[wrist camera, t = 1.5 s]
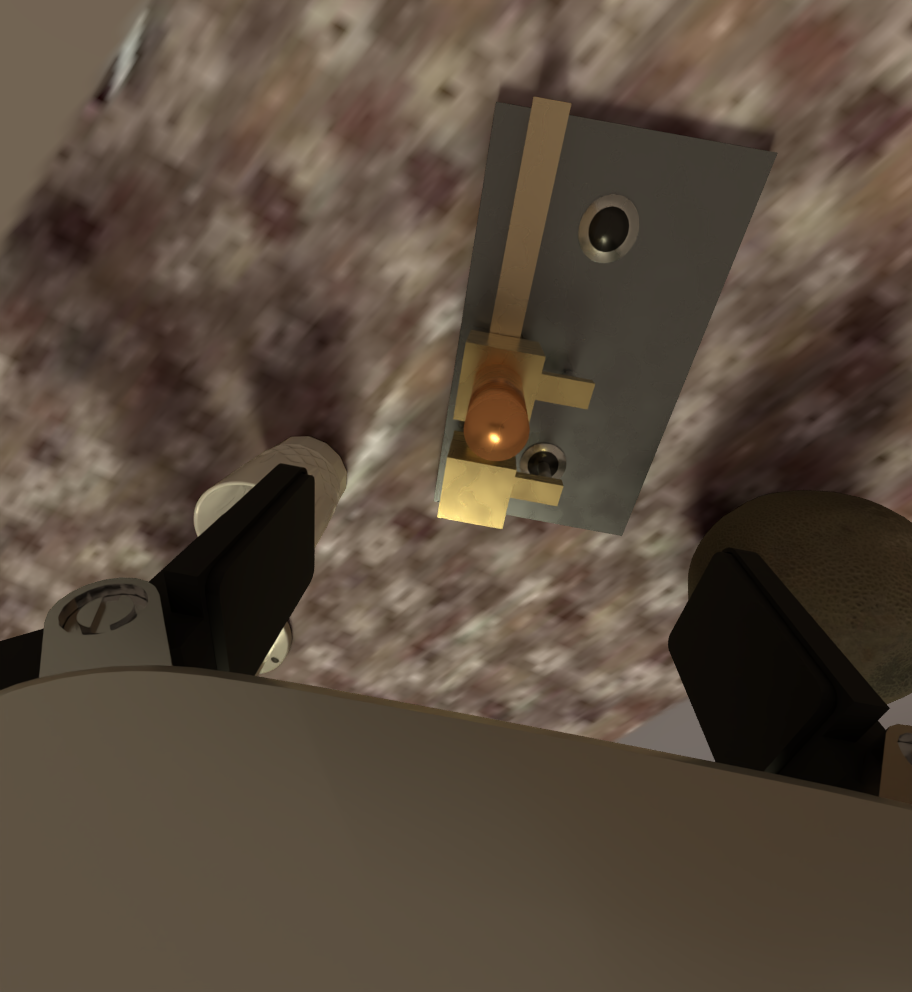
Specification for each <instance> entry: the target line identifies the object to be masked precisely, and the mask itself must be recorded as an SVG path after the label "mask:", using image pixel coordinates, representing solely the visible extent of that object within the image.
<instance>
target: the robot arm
mask: <svg viewBox="0 0 912 992" xmlns="http://www.w3.org/2000/svg"><path fill="white" fill-rule="evenodd" d="M314 553H315V479H314V476H313V475H308V472H307V469H306V468H304V467H299V466H294V465H288V464H283V463H280V464H278V465H277V466H276V467H275V468H274V469H272V470H271V471H270V472H269V473H268V474H267V475H266V476H265V477H264V478H263V479H262V480H260V481H259V482H258V483H257V484H256V485H255V486H254V487H253V488H252V489H251V490H250V491H248V492H247V493H246V494H245V495H244V496H243V497H242V498H241V499H240V500H239V501H238V502H236V503H235V504H234V505H233V506H232V507H231V508H230V509H229V510H228V511H227V512H226V513H224V514H223V515H221V516H220V517H219V518H218V519H217V520H216V521H215V522H214V523H213V524H212V525H211V526H209V527H208V528H207V529H206V530H205V531H204V532H203V533H202V534H201V535H200V536H199V537H197V538H196V539H195V540H194V541H193V542H192V543H191V544H190V545H189V546H188V547H186V548H185V549H184V550H183V551H182V552H181V553H180V554H179V555H178V556H177V557H176V558H174V559H173V560H172V561H171V562H170V563H169V564H168V565H167V566H166V567H165V568H164V569H162V570H161V571H160V572H159V573H158V574H157V575H156V576H155V577H154V578H153V579H151V580H150V581H149V582H148V581H145V580H141V579H137V578H113V579H106V580H102V581H98V582H95V583H91V584H88V585H85V586H83V587H81V588H79V589H77V590H75V591H72V592H71V593H69V594H68V595H66V596H65V597H63V598H62V599H60V600H59V601H58V602H57V603H56V604H55V605H54V606H53V607H52V608H51V609H50V611H49V612H48V614H47V617H46V619H45V622H44V629H41V630H37V631H34V632H30V633H27V634H23V635H20V636H17V637H13V638H10V639H6V640H3V641H0V992H912V726H910V725H901V724H896V725H893V726H890V727H888V729H886V730H885V729H884V728H883V726H882V725H881V724H880V723H879V722H878V720H879V719H880V718H881V717H882V716H883V714H884V713H886V712H887V711H888V710H889V707H888V706H887V704H886V703H885V702H884V701H883V700H882V698H881V697H880V696H879V695H878V694H877V693H876V691H875V690H874V689H873V688H872V687H871V686H870V684H869V683H868V682H867V681H866V680H865V679H864V677H863V676H862V675H861V674H860V673H859V671H858V670H857V669H856V668H855V667H854V666H853V664H852V663H851V662H850V661H849V660H848V659H847V657H846V656H845V655H844V654H843V653H842V652H841V650H840V649H839V648H838V647H837V646H836V644H835V643H834V642H833V641H832V640H831V639H830V637H829V636H828V635H827V634H826V633H825V632H824V630H823V629H822V628H821V627H820V626H819V625H818V623H817V622H816V621H815V620H814V619H813V617H812V616H811V615H810V614H809V613H808V612H807V610H806V609H805V608H804V607H803V606H802V605H801V603H800V602H799V601H798V600H797V599H796V598H795V596H794V595H793V594H792V593H791V592H790V591H789V589H788V588H787V587H786V586H785V585H784V583H783V582H782V581H781V580H780V579H779V578H778V576H777V575H776V574H775V573H774V572H773V571H772V569H771V568H770V567H769V566H768V565H767V564H766V562H765V561H764V560H763V559H762V558H761V556H760V555H759V554H757V553H756V552H752V551H747V550H741V549H736V548H731V547H728V548H725V549H724V550H722V552H717V553H715V554H714V555H713V557H712V558H711V560H710V562H709V564H708V566H707V568H706V569H705V571H704V573H703V575H702V577H701V579H700V580H699V582H698V584H697V586H696V588H695V589H694V591H693V593H692V595H691V597H690V599H689V600H688V602H687V604H686V606H685V608H684V610H683V611H682V613H681V615H680V617H679V619H678V621H677V622H676V624H675V626H674V628H673V630H672V632H671V633H670V636H669V640H668V648H669V651H670V654H671V656H672V659H673V661H674V663H675V666H676V668H677V671H678V673H679V675H680V678H681V680H682V683H683V685H684V687H685V690H686V692H687V695H688V697H689V699H690V702H691V704H692V706H693V709H694V711H695V713H696V716H697V719H698V721H699V723H700V726H701V728H702V731H703V733H704V735H705V738H706V740H707V742H708V745H709V747H710V750H711V752H712V755H713V757H714V759H715V762H711V761H706V760H702V759H696V758H691V757H686V756H681V755H676V754H671V753H666V752H661V751H656V750H651V749H646V748H641V747H636V746H630V745H625V744H620V743H615V742H610V741H605V740H599V739H594V738H589V737H584V736H579V735H574V734H568V733H563V732H558V731H553V730H548V729H542V728H537V727H532V726H527V725H521V724H516V723H511V722H506V721H500V720H495V719H490V718H485V717H479V716H474V715H469V714H464V713H458V712H453V711H447V710H442V709H437V708H431V707H426V706H421V705H415V704H410V703H404V702H399V701H394V700H388V699H383V698H378V697H372V696H367V695H361V694H356V693H351V692H345V691H340V690H335V689H329V688H323V687H317V686H311V685H305V684H300V683H294V682H288V681H282V680H276V679H270V678H264V677H258V675H259V674H262V673H266V672H269V671H271V670H273V669H275V668H276V667H278V666H279V665H280V664H281V663H282V662H283V661H284V659H285V658H286V656H287V654H288V652H289V650H290V647H291V644H292V633H291V630H290V626H289V624H288V622H287V621H288V619H289V617H290V616H291V614H292V612H293V611H294V609H295V607H296V606H297V604H298V602H299V601H300V599H301V597H302V596H303V594H304V592H305V591H306V589H307V587H308V586H309V584H310V582H311V580H312V577H313V573H314Z"/></svg>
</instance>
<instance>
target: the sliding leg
mask: <svg viewBox="0 0 912 992" xmlns="http://www.w3.org/2000/svg"><path fill="white" fill-rule="evenodd" d="M545 358H546V356H545V354H544V352H543V350H542V348H541V346H540V344H539V342H536V341H531V340H525V339H520V338H514V337H509V336H503V335H498V334H492V333H487V332H481V331H476V330H471V331H470V333H469V336H468V338H467V340H466V344H465V350H464V356H463V362H462V368H461V374H460V380H459V386H458V393H457V399H456V405H455V411H454V417H453V419H455V420H460V421H465V424H464V437H465V440H466V443H467V445H468V446H469V448H470V449H471V450H472V451H473V452H474V453H475V454H476V455H477V456H479V457H481V458H483V459H486V460H489V461H503V460H507V459H510V458H512V457H514V456H515V455H517V454H518V453H519V452H520V451H521V450H522V449H523V448H524V446H525V445H526V443H527V441H528V438H529V433H530V426H529V422H530V418H531V414H532V410H533V406H534V402H535V400H539V401H544V402H549V403H555V404H560V405H566V406H571V407H577V408H582V409H588V406H589V403H590V399H591V396H592V393H593V390H594V387H595V383H594V382H593V380H589V379H584V378H578V377H576V376H575V374H574V373H573V372H572V371H567V372H565V373H564V374H563V375H562V374H557V373H551V372H546V371H542V370H543V366H544V362H545Z"/></svg>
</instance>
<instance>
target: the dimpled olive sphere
mask: <svg viewBox="0 0 912 992" xmlns="http://www.w3.org/2000/svg"><path fill="white" fill-rule="evenodd" d="M728 547H731V548H736V549H741V550H747V551H752V552H756V553H757V554H759V555H760V556H761V558H762V559H763V560H764V561H765V562H766V564H767V565H768V566H769V567H770V568H771V569H772V571H773V572H774V573H775V574H776V575H777V576H778V578H779V579H780V580H781V581H782V582H783V583H784V585H785V586H786V587H787V588H788V589H789V591H790V592H791V593H792V594H793V595H794V596H795V598H796V599H797V600H798V601H799V602H800V603H801V605H802V606H803V607H804V608H805V609H806V610H807V612H808V613H809V614H810V615H811V616H812V617H813V619H814V620H815V621H816V622H817V623H818V625H819V626H820V627H821V628H822V629H823V630H824V632H825V633H826V634H827V635H828V636H829V637H830V639H831V640H832V641H833V642H834V643H835V644H836V646H837V647H838V648H839V649H840V650H841V652H842V653H843V654H844V655H845V656H846V657H847V659H848V660H849V661H850V662H851V663H852V664H853V666H854V667H855V668H856V669H857V670H858V671H859V673H860V674H861V675H862V676H863V677H864V679H865V680H866V681H867V682H868V683H869V684H870V686H871V687H872V688H873V689H874V690H875V691H876V693H877V694H878V695H879V696H880V697H881V698H882V700H883V701H884V702H885V703H886V704H889V703H891V702H894V701H896V700H898V699H901V698H903V697H905V696H907V695H909V694H910V693H912V523H911V522H910V521H909V520H907V519H906V518H905V517H903V516H901V515H899V514H897V513H896V512H894V511H892V510H890V509H888V508H886V507H884V506H882V505H880V504H877V503H875V502H872V501H870V500H866V499H863V498H860V497H855V496H851V495H846V494H841V493H836V492H828V491H811V490H796V491H786V492H777V493H772V494H767V495H764V496H760V497H758V498H755V499H753V500H751V501H749V502H746V503H745V504H743V505H741V506H740V507H738V508H737V509H735V510H734V511H732V512H730V513H728V514H727V515H725V516H724V517H722V518H721V519H720V520H719V521H718V522H717V523H716V524H714V525H713V527H712V528H711V529H710V530H709V531H708V532H707V534H706V535H705V536H704V538H703V539H702V540H701V542H700V544H699V545H698V547H697V549H696V551H695V553H694V555H693V558H692V560H691V564H690V568H689V573H688V600H689V599H690V597H691V595H692V593H693V591H694V589H695V588H696V586H697V584H698V582H699V580H700V579H701V577H702V575H703V573H704V571H705V569H706V568H707V566H708V564H709V562H710V560H711V558H712V557H713V555H714V554H715V553H717V552H722V550H724V549H725V548H728Z"/></svg>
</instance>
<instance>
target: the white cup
mask: <svg viewBox="0 0 912 992" xmlns="http://www.w3.org/2000/svg"><path fill="white" fill-rule="evenodd" d="M280 463H283V464H288V465H294V466H299V467H304V468H306V469H307V472H308V475H313V476H314V479H315V547H316V545H317V544H318V542H319V540H320V538H321V536H322V535H323V533H324V531H325V529H326V528H327V526H328V523H329V521H330V519H331V518H332V516H333V514H334V512H335V510H336V507H337V504H338V501H339V499H340V498H341V496H342V494H343V493H344V491H345V489H346V479H347V471H346V469H345V467H344V464H343V462H342V460H341V458H340V456H339V455H338V454H337V453H336V452H335V451H334V450H333V449H332V448H331V447H330V446H329V445H328V444H327V443H325V442H322V441H320V440H317V439H315V438H312V437H310V436H298V437H290V438H288V439H286V440H284V441H283V442H281V443H279V444H277V445H276V446H274V447H273V448H272V449H268V450H266V451H265V452H263V453H262V454H260V455H258V456H257V457H255V458H254V459H252V460H251V461H249V462H247V463H246V464H244V465H243V466H241V467H240V468H238V469H237V470H236V471H234V472H233V473H231V474H230V475H228V476H227V477H225V478H224V479H223V480H221V481H220V482H218V483H217V484H215V485H214V486H212V487H211V488H209V489H208V490H207V491H206V492H204V493H203V494H202V496H201V497H200V498H199V500H198V502H197V504H196V506H195V510H194V526H195V531H196V534H197V536H198V537H199V536H200V535H201V534H202V533H203V532H204V531H205V530H206V529H207V528H208V527H209V526H211V525H212V524H213V523H214V522H215V521H216V520H217V519H218V518H219V517H220V516H221V515H223V514H224V513H226V512H227V511H228V510H229V509H230V508H231V507H232V506H233V505H234V504H235V503H236V502H238V501H239V500H240V499H241V498H242V497H243V496H244V495H245V494H246V493H247V492H248V491H250V490H251V489H252V488H253V487H254V486H255V485H256V484H257V483H258V482H259V481H260V480H262V479H263V478H264V477H265V476H266V475H267V474H268V473H269V472H270V471H271V470H272V469H274V468H275V467H276V466H277V465H278V464H280Z"/></svg>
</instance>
